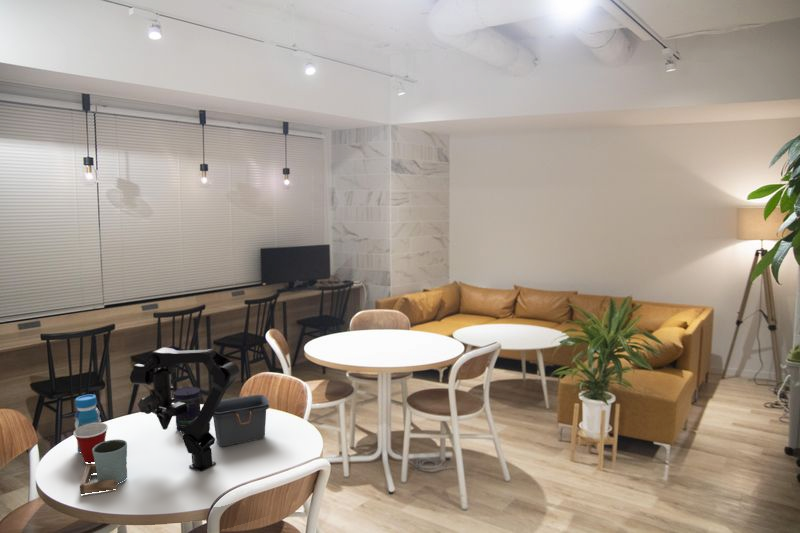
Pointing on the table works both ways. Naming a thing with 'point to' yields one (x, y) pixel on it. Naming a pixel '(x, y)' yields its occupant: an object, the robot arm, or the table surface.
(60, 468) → the table surface
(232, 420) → the storage bin
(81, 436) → the plastic cup
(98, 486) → the walnut bay
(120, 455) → the green plant pot
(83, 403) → the beverage bottle
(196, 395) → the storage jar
